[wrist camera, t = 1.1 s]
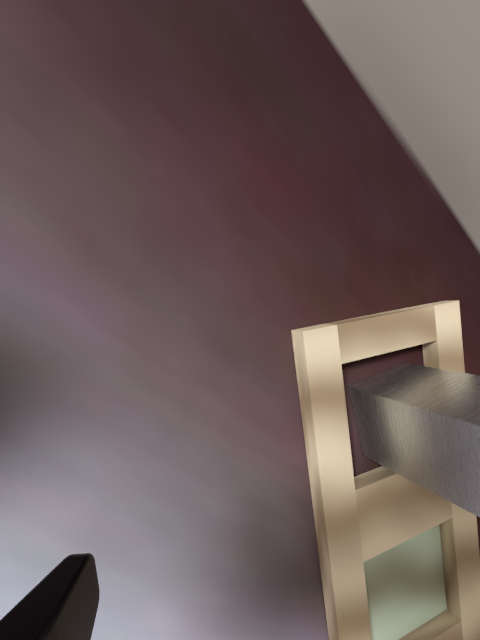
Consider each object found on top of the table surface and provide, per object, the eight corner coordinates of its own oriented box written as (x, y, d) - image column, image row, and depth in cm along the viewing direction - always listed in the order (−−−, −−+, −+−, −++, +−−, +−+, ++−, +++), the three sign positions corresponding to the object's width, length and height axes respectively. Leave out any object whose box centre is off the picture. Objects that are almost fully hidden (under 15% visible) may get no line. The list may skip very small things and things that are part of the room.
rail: (470, 622, 28) (485, 635, 27) (337, 710, 23) (350, 730, 22) (442, 300, 26) (458, 300, 25) (291, 330, 21) (302, 331, 20)
